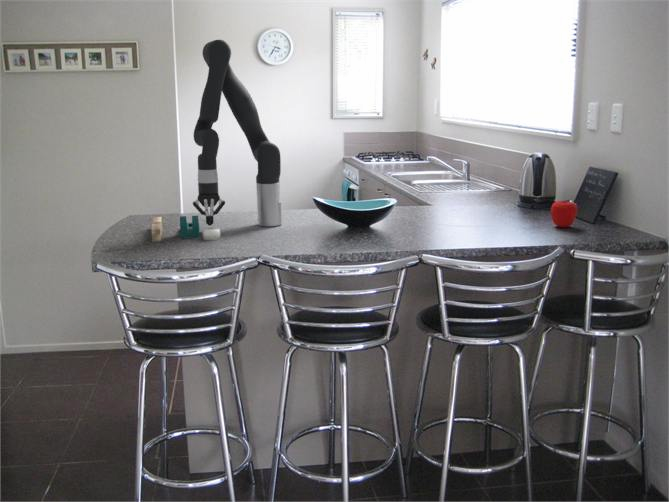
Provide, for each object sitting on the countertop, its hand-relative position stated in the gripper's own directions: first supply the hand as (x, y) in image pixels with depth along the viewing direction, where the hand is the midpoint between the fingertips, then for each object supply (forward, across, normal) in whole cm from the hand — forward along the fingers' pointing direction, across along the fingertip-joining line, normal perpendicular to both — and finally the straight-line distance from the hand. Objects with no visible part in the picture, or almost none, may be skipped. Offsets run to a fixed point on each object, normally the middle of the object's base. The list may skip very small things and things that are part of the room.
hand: (209, 225), depth 260 cm
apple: (0, -134, +29) cm, 138 cm away
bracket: (+3, +8, 0) cm, 8 cm away
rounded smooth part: (+3, 0, +12) cm, 12 cm away
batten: (+3, +20, 0) cm, 20 cm away
